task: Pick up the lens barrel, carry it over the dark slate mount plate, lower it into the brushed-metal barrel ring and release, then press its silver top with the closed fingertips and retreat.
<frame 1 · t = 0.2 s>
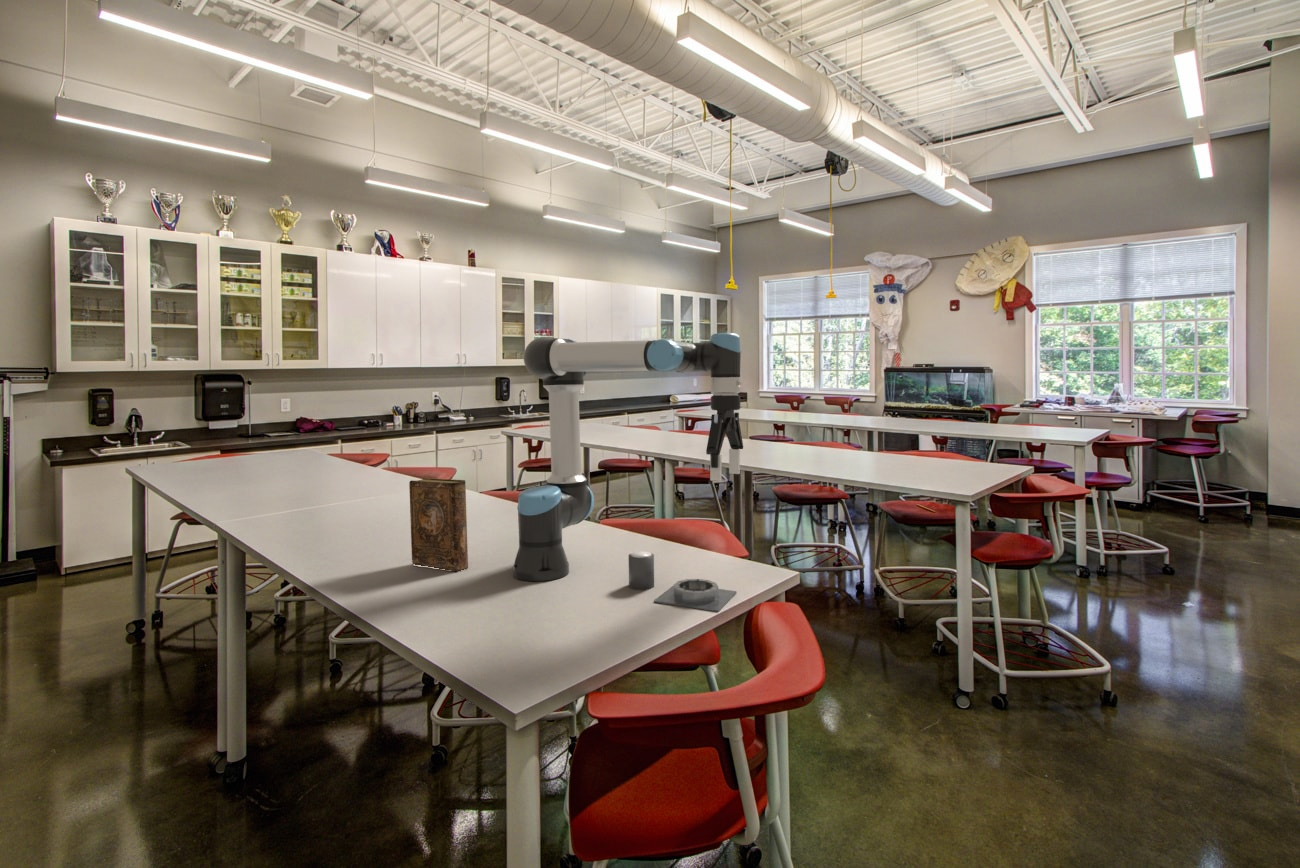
hand: (725, 477, 162), 27 cm above the table, fingers open, 13 cm apart
book: (441, 567, 180), on the table
lens barrel: (641, 586, 161), on the table
barrel mount: (696, 597, 152), on the table
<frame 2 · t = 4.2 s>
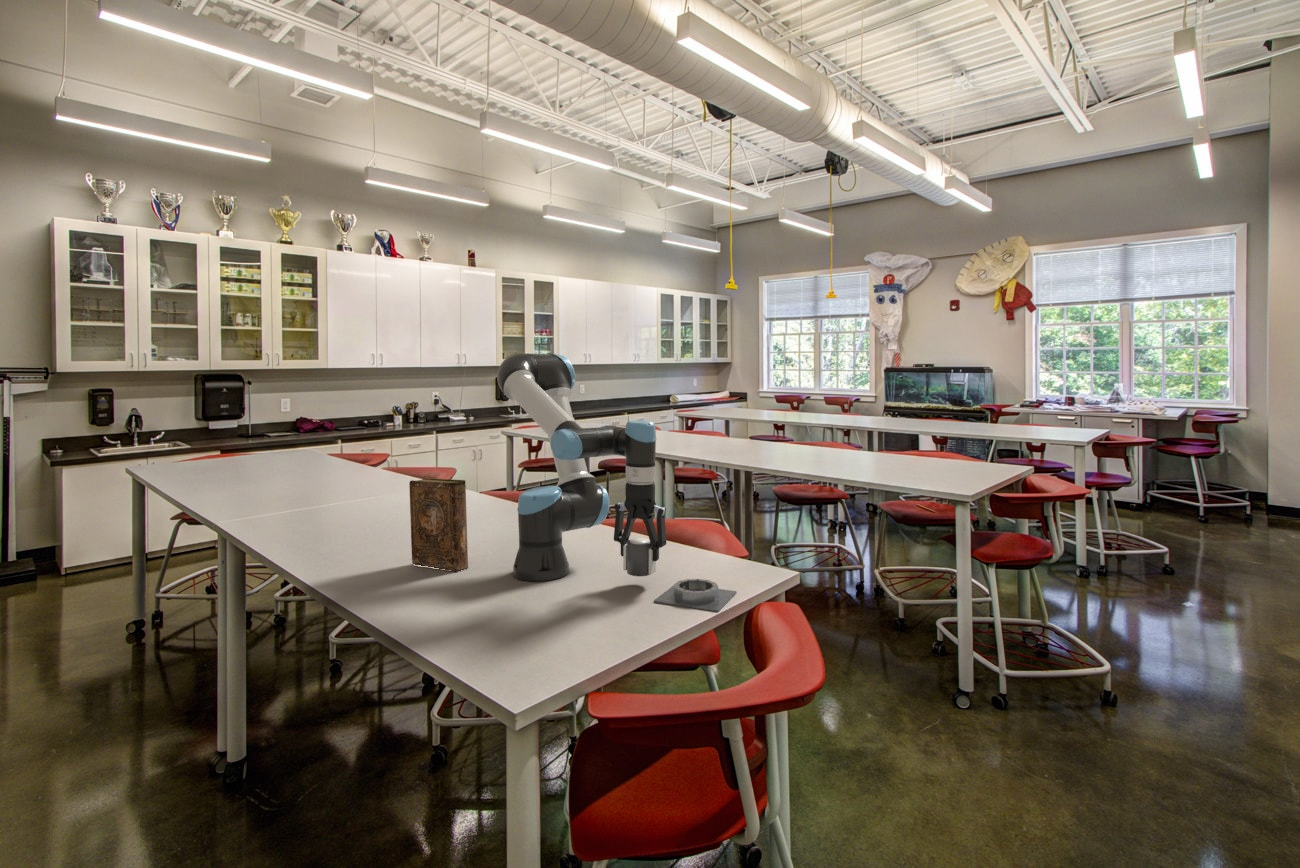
hand: (639, 570, 161), 4 cm above the table, fingers closed on lens barrel, 6 cm apart
lens barrel: (639, 572, 161), point 3 cm above the table, touching gripper
everything else where it was.
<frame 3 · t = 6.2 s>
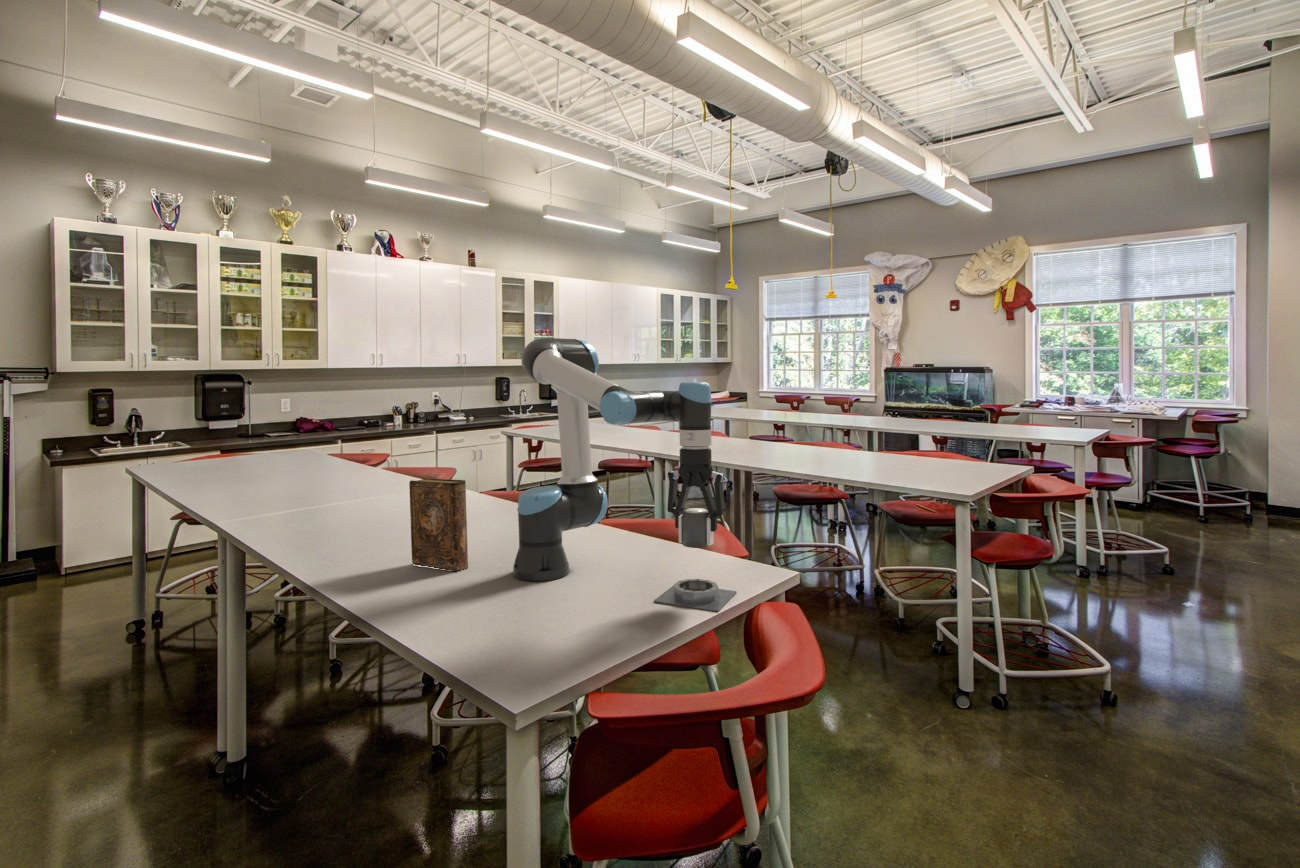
hand: (696, 543, 151), 13 cm above the table, fingers closed on lens barrel, 6 cm apart
lens barrel: (696, 544, 151), point 13 cm above the table, touching gripper
everything else where it was.
when the fingers open (3 cm above the table, at t = 8.2 s): lens barrel drops 2 cm, resting on barrel mount.
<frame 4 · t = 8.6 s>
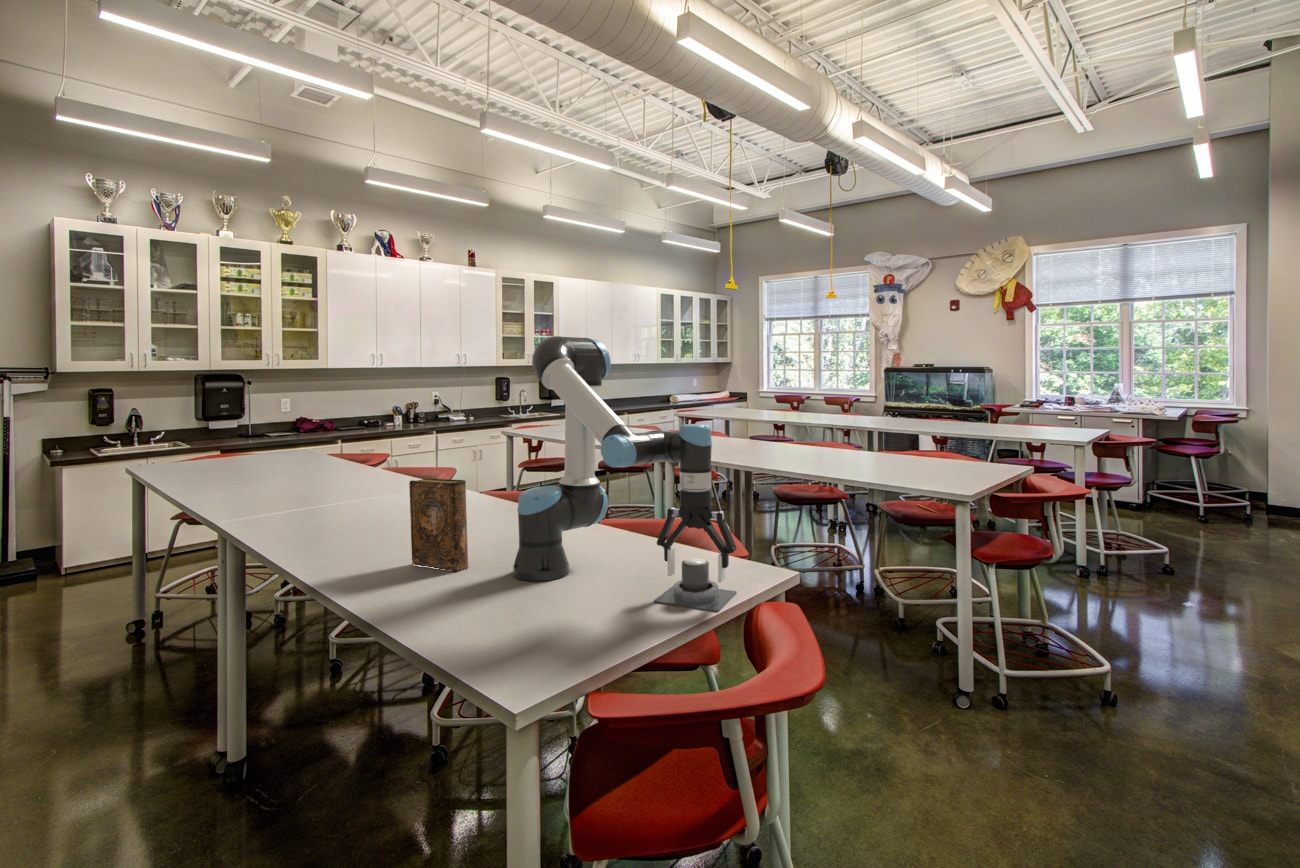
hand: (695, 577, 151), 5 cm above the table, fingers open, 12 cm apart
lens barrel: (695, 595, 152), point 1 cm above the table, touching barrel mount
everything else where it was.
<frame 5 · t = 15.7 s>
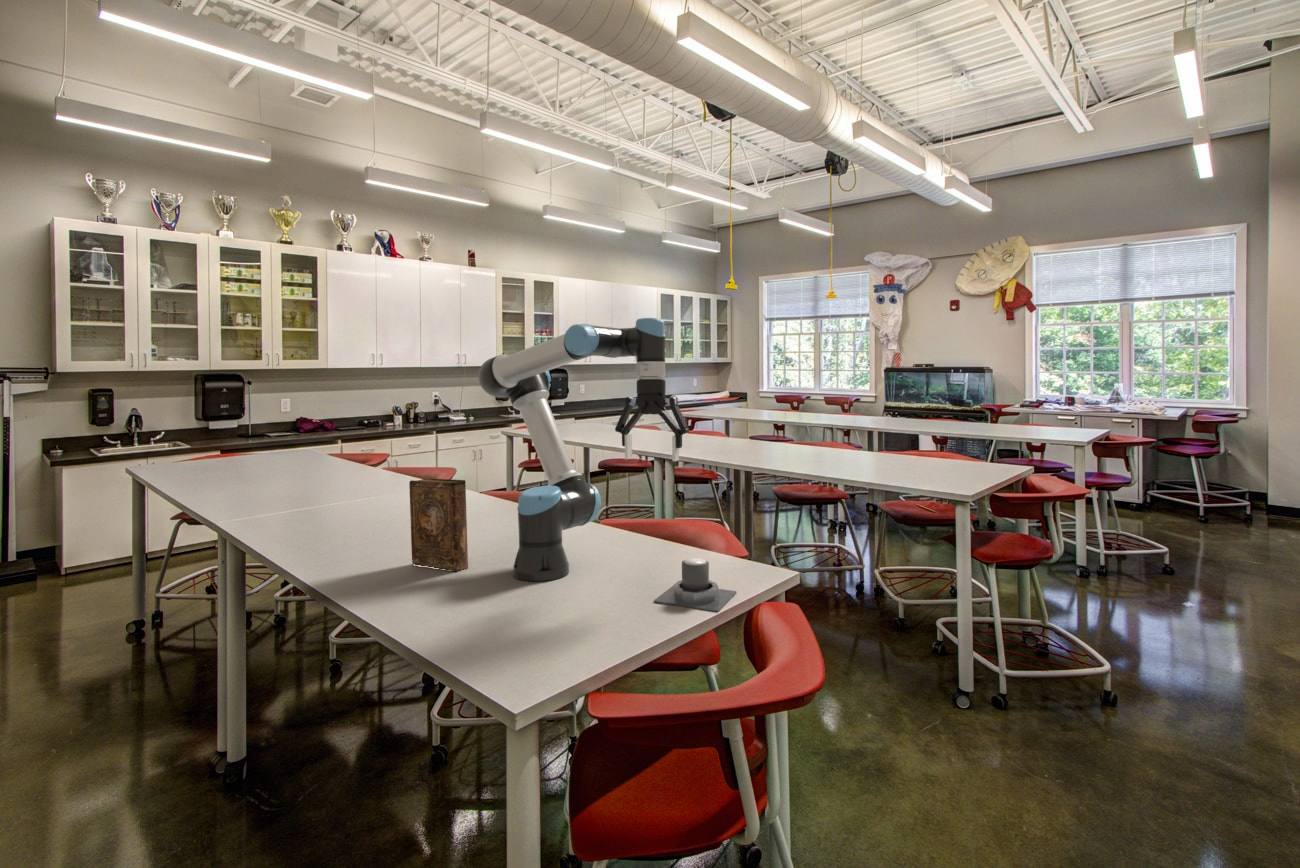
hand: (651, 459, 165), 32 cm above the table, fingers open, 13 cm apart
nothing on the table moved.
at the end: lens barrel 0.2 cm off-centre on the barrel mount, point 0.6 cm above the barrel mount's base; lens barrel tilted 0°; the gripper is holding nothing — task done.
